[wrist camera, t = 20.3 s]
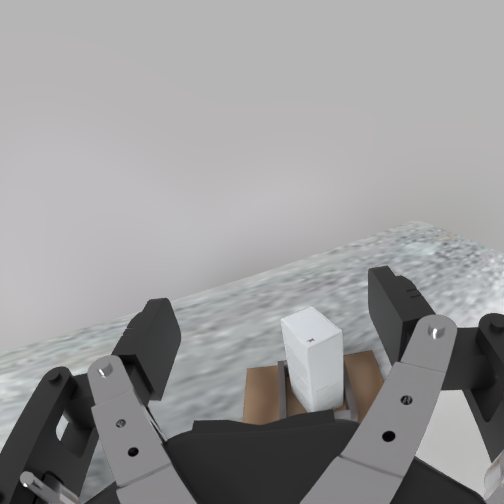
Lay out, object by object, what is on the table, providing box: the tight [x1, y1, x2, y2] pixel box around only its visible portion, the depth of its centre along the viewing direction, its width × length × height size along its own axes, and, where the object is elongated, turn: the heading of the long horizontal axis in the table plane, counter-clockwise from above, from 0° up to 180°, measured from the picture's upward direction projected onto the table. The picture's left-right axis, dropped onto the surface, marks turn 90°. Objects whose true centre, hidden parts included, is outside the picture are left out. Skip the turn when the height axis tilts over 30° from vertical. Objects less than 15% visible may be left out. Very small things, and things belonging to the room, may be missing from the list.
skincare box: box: [280, 306, 343, 413], centre depth 33 cm, size 6×4×12 cm
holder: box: [243, 350, 384, 425], centre depth 35 cm, size 18×14×4 cm
